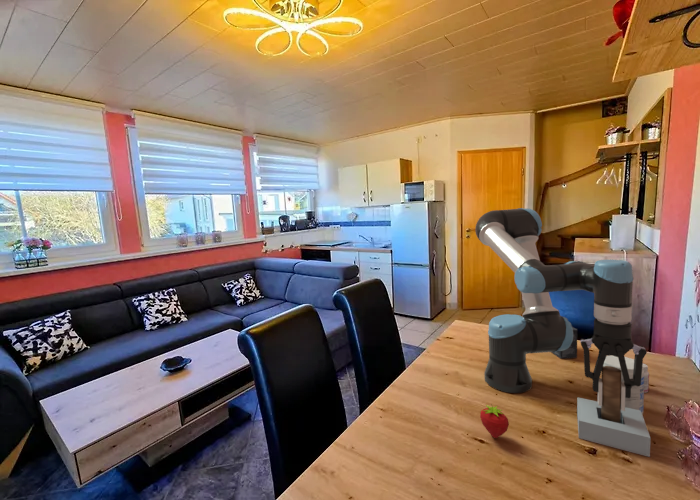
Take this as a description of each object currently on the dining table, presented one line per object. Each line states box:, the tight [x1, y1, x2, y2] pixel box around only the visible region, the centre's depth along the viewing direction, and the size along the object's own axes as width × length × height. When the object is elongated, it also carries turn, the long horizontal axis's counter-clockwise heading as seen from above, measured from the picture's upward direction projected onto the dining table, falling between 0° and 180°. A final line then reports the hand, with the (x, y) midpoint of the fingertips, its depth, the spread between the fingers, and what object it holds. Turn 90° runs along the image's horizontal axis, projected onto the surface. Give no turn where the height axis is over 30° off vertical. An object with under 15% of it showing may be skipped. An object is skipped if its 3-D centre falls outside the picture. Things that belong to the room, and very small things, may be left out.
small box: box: [551, 326, 578, 360], centre depth 134 cm, size 13×7×12 cm, turn 179°
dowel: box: [601, 366, 621, 423], centre depth 85 cm, size 4×4×14 cm
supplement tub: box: [603, 355, 645, 415], centre depth 95 cm, size 10×10×15 cm
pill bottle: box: [642, 363, 650, 394], centre depth 104 cm, size 5×5×8 cm
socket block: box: [576, 397, 651, 458], centre depth 86 cm, size 14×12×5 cm
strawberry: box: [479, 403, 510, 439], centre depth 87 cm, size 6×8×10 cm
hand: (610, 405), depth 85 cm, fingers closed on dowel, 4 cm apart
